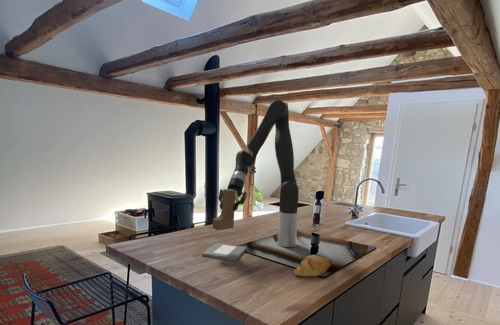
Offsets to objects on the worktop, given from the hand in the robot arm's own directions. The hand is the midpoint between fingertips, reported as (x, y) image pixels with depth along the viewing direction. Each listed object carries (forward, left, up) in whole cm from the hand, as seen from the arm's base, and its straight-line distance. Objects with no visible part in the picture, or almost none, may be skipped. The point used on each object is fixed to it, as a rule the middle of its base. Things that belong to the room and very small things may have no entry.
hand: (227, 209), depth 134 cm
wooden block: (+1, +1, -9) cm, 9 cm away
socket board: (0, +1, -20) cm, 20 cm away
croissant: (-40, +6, -21) cm, 46 cm away
